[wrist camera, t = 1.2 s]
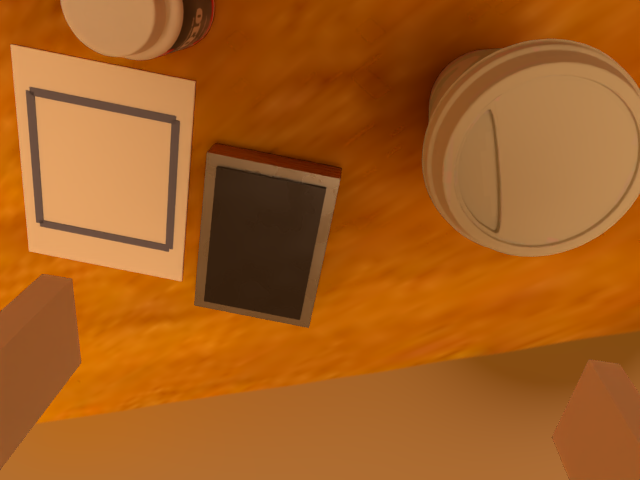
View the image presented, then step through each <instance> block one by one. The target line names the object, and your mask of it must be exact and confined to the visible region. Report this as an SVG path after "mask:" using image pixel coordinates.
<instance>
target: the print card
mask: <svg viewBox="0 0 640 480" xmlns="http://www.w3.org/2000/svg"><path fill="white" fill-rule="evenodd" d="M10 45H11V56H12V67H13V78H14V90H15V101H16V112H17V123H18V134H19V145H20V156H21V167H22V179H23V190H24V201H25V212H26V223H27V234H28V245H29V251H30V252H35V253H40V254H45V255H51V256H56V257H61V258H66V259H71V260H76V261H81V262H86V263H91V264H96V265H101V266H106V267H111V268H116V269H121V270H127V271H132V272H137V273H142V274H147V275H152V276H157V277H162V278H167V279H172V280H177V281H182V280H183V265H184V250H185V236H186V221H187V207H188V192H189V178H190V163H191V148H192V134H193V119H194V105H195V90H196V81H193V80H188V79H183V78H178V77H173V76H168V75H163V74H158V73H153V72H148V71H143V70H138V69H133V68H129V67H124V66H119V65H114V64H109V63H104V62H99V61H94V60H89V59H84V58H79V57H74V56H69V55H64V54H59V53H54V52H49V51H44V50H39V49H34V48H29V47H24V46H19V45H14V44H10Z"/></svg>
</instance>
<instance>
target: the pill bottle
mask: <svg viewBox="0 0 640 480" xmlns="http://www.w3.org/2000/svg"><path fill="white" fill-rule="evenodd" d="M60 1H61V7H62V11H63V14H64V17H65V19H66V21H67V23H68V25H69V27H70V28H71V30H72V31H73V33H74V34H75V35H76V36H77V38H78V39H79V40H80V41H81V42H82V43H84V44H85V45H86V46H87V47H89V48H90V49H92V50H94V51H96V52H98V53H100V54H102V55H106V56H111V57H123V58H126V59H131V60H149V59H153V58H156V57H160V56H163V55H166V54H169V53H172V52H175V51H178V50H181V49H185V48H188V47H190V46H192V45H194V44H196V43H198V42H199V41H200V40H201V39H203V37H204V36H205V35H206V34H207V32H208V31H209V29H210V27H211V25H212V22H213V18H214V9H215V6H214V0H60Z"/></svg>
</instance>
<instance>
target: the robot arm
mask: <svg viewBox="0 0 640 480" xmlns="http://www.w3.org/2000/svg"><path fill="white" fill-rule="evenodd" d="M80 364H81V356H80V347H79V338H78V329H77V319H76V310H75V301H74V292H73V283H72V279H71V278H65V277H59V276H52V275H46V274H42V275H41V276H40V277H38V278H37V279H36V280H35V281H34V282H33V283H32V284H31V285H29V286H28V287H27V288H26V289H25V290H24V291H23V292H22V293H20V294H19V295H18V296H17V297H16V298H15V299H14V300H13V301H11V302H10V303H9V304H8V305H7V306H6V307H5V308H4V309H3V310H1V311H0V470H1V468H2V467H3V465H4V464H5V463H6V462H7V460H8V459H9V457H10V456H11V455H12V454H13V452H14V451H15V450H16V448H17V447H18V446H19V444H20V443H21V442H22V440H23V439H24V438H25V437H26V435H27V433H29V431H30V429H31V428H32V427H33V426H34V425H35V423H36V422H37V421H38V419H39V418H40V417H41V415H42V414H43V413H44V411H45V410H46V409H47V407H48V406H49V405H50V403H51V402H52V401H53V399H54V398H55V397H56V395H57V394H58V393H59V392H60V390H61V389H62V388H63V386H64V385H65V384H66V382H67V381H68V380H69V378H70V377H71V376H72V374H73V373H74V372H75V370H76V369H77V368H78V366H79V365H80ZM552 439H553V441H554V444H555V446H556V448H557V451H558V453H559V456H560V458H561V461H562V463H563V466H564V468H565V471H566V473H567V476H568V478H569V480H640V394H639V393H638V391H637V389H636V388H635V386H634V385H633V383H632V382H631V380H630V379H629V377H628V376H627V374H626V373H625V371H624V370H623V368H622V367H621V365H620V364H616V363H610V362H604V361H597V360H591V359H589V360H588V362H587V364H586V366H585V369H584V371H583V373H582V375H581V377H580V379H579V381H578V384H577V386H576V388H575V390H574V392H573V394H572V396H571V399H570V400H569V402H568V405H567V406H566V409H565V411H564V413H563V415H562V417H561V419H560V421H559V423H558V425H557V428H556V430H555V432H554V434H553V436H552Z"/></svg>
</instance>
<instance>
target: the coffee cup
mask: <svg viewBox="0 0 640 480" xmlns="http://www.w3.org/2000/svg"><path fill="white" fill-rule="evenodd" d="M422 169H423V176H424V181H425V185H426V188H427V191H428V193H429V196H430V198H431V200H432V202H433V204H434V205H435V207H436V208H437V210H438V211H439V213H440V214H441V215H442V216H443V217H444V219H445V220H446V221H447V222H448V223H449V224H450V225H451V226H452V227H453V228H454V229H456V230H457V231H458V232H459V233H461V234H462V235H463V236H465V237H466V238H468V239H470V240H471V241H473V242H475V243H477V244H480V245H482V246H485V247H488V248H490V249H493V250H496V251H498V252H502V253H505V254H510V255H516V256H530V257H534V256H546V255H552V254H557V253H561V252H565V251H568V250H571V249H574V248H576V247H578V246H581V245H583V244H585V243H587V242H589V241H591V240H593V239H595V238H596V237H598V236H599V235H601V234H602V233H604V232H605V231H606V230H608V229H609V228H610V227H611V226H613V225H614V224H615V223H616V222H617V221H618V220H619V219H620V218H621V217H622V216H623V215H624V214H625V213H626V212H627V211H628V209H629V208H630V207H631V206H632V204H633V203H634V202H635V200H636V198H637V197H638V195H639V194H640V89H639V87H638V86H637V84H636V83H635V81H634V80H633V79H632V77H631V76H630V75H629V74H628V73H627V72H626V71H625V70H624V69H623V68H622V67H621V66H620V65H619V64H618V63H617V62H616V61H614V60H613V59H612V58H611V57H609V56H608V55H606V54H605V53H603V52H601V51H600V50H598V49H596V48H593V47H591V46H588V45H586V44H583V43H579V42H575V41H570V40H563V39H539V40H531V41H526V42H521V43H518V44H514V45H511V46H508V47H506V48H497V49H482V50H475V51H471V52H468V53H466V54H464V55H462V56H460V57H458V58H456V59H455V60H453V61H452V62H451V63H450V64H448V65H447V66H446V67H445V68H444V69H443V71H442V72H441V73H440V75H439V76H438V78H437V79H436V81H435V83H434V85H433V88H432V90H431V94H430V99H429V124H428V127H427V130H426V133H425V137H424V142H423V150H422Z"/></svg>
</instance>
